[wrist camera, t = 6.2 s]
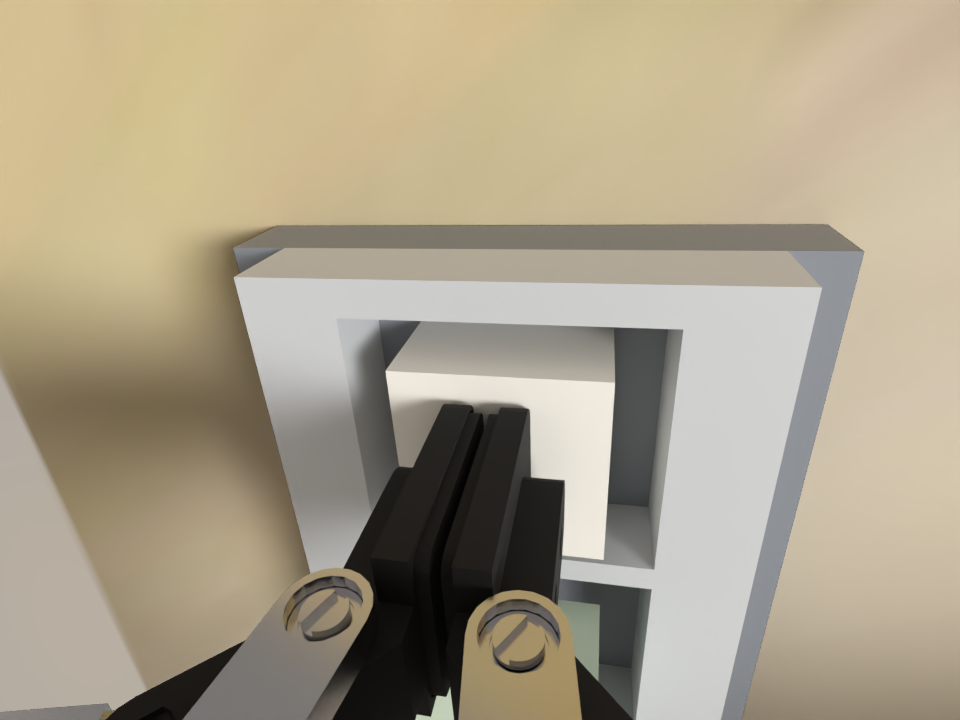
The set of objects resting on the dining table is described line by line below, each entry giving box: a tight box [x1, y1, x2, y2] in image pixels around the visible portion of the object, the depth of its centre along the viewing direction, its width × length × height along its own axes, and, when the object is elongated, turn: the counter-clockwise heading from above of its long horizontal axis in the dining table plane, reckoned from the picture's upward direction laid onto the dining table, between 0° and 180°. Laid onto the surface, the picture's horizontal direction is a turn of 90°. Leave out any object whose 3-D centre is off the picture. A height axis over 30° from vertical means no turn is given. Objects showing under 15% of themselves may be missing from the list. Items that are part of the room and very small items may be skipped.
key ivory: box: [385, 321, 615, 560], centre depth 12 cm, size 4×4×2 cm
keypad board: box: [233, 225, 864, 720], centre depth 18 cm, size 13×26×4 cm, turn 3°
